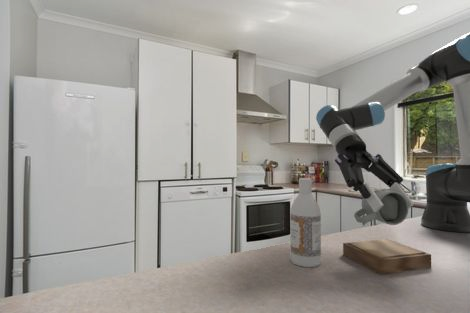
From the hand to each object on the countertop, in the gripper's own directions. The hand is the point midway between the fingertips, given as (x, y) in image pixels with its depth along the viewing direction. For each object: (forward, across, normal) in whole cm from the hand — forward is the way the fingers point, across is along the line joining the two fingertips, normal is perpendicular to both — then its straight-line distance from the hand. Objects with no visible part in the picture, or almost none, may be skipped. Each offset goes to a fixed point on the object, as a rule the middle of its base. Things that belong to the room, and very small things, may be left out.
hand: (394, 207), depth 59 cm
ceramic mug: (0, +1, -6) cm, 6 cm away
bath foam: (+5, +19, -15) cm, 24 cm away
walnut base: (+7, 0, -12) cm, 14 cm away
